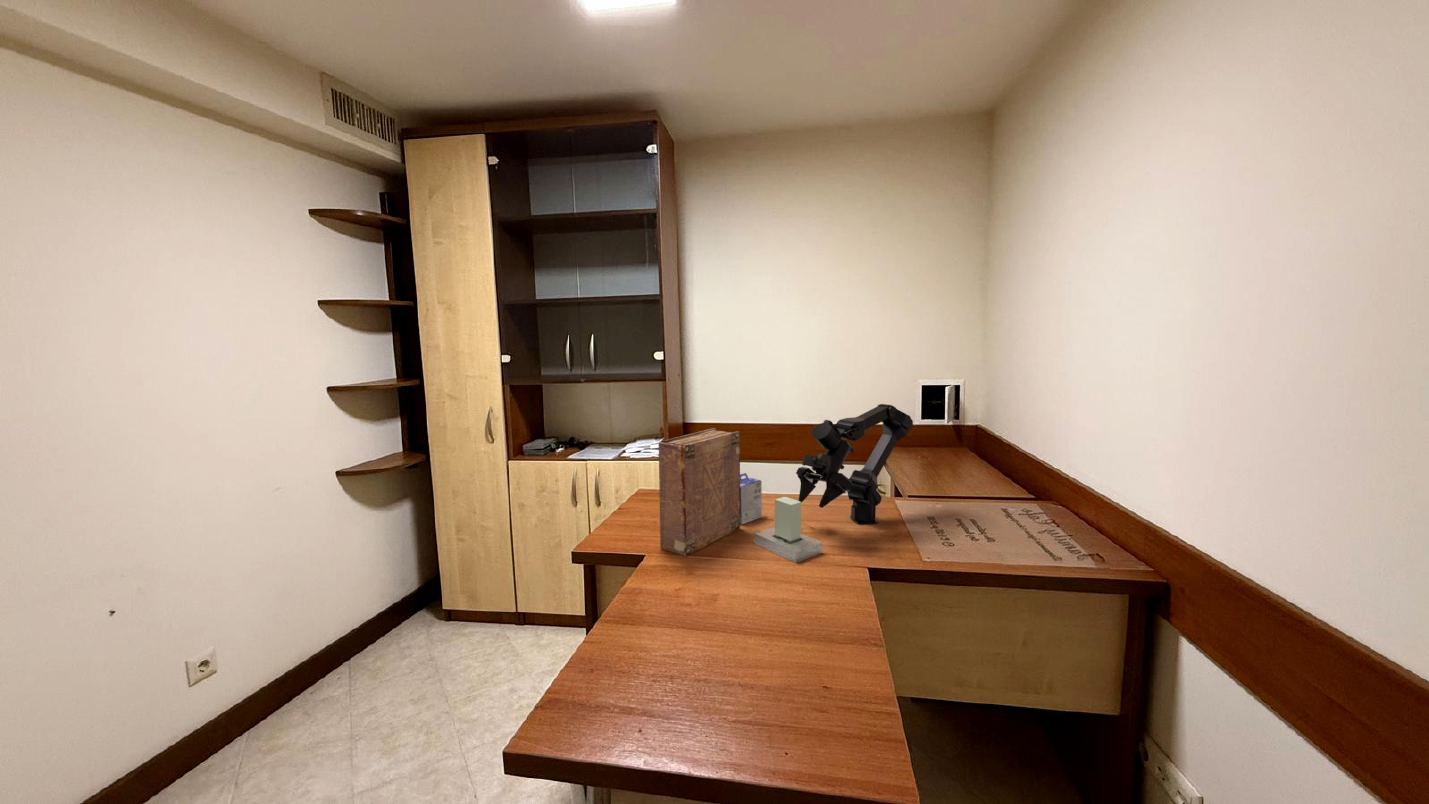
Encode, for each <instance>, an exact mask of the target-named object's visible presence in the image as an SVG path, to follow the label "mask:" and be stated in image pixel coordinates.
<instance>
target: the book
mask: <svg viewBox="0 0 1429 804" xmlns="http://www.w3.org/2000/svg"><path fill="white" fill-rule="evenodd" d="M740 474H741V433H740V431H733V432H729V431H724V430H723V431H722V430H717V428H716V427H713V428H708V429H705V430H701V431H697V432H693V433H689V434H685V435H681V436H677V437H672V438H669V439H666V440H660V441H659V442H658V476H659V477H658V479H659V480H658V481H659V485H658V486H659V487H658V488H659V526H660V527H659V531H660V532H659V533H660V537H659V539H660V543H659V544H660V549H662V550H663V551H664V550H665V551H668V552H670V553H674V554H677V555H680V556H683V557H686V558H687V557H688V556H690V555H692V554H694V553H696V552H698V551H700V550H702V549H704V548H706V547H707V546H710V545H712V544H713V543H715V542H718V541H720V540H722V539H723V538H725V537H727V536H728V535H732V534H733V533H735V532H737V531H739V530H741V525H740Z"/></svg>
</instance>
